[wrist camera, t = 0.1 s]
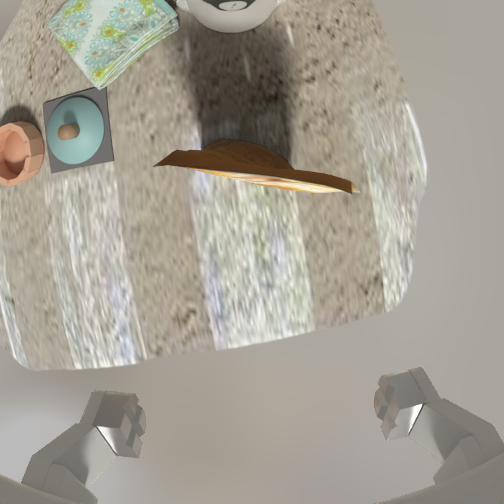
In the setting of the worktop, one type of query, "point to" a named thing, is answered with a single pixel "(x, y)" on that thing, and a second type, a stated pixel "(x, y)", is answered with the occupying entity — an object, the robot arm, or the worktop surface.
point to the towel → (111, 33)
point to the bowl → (20, 152)
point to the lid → (75, 130)
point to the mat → (106, 147)
